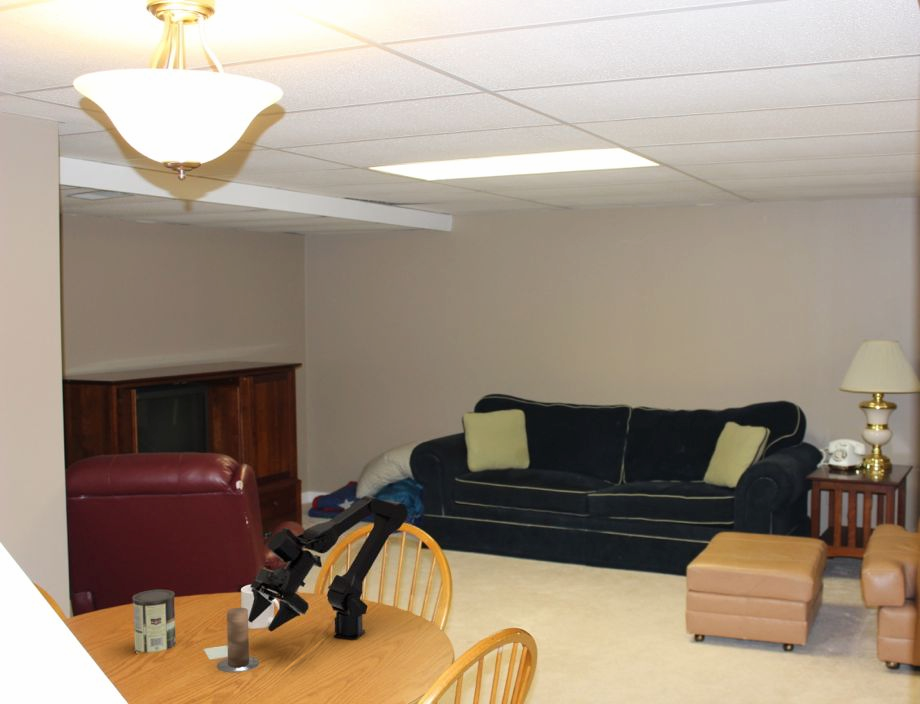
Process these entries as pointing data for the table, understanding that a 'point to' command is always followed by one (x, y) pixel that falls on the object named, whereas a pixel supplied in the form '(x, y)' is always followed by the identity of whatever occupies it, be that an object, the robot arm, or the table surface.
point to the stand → (217, 652)
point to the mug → (263, 618)
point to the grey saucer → (224, 667)
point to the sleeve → (237, 637)
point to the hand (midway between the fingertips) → (259, 625)
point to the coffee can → (154, 620)
